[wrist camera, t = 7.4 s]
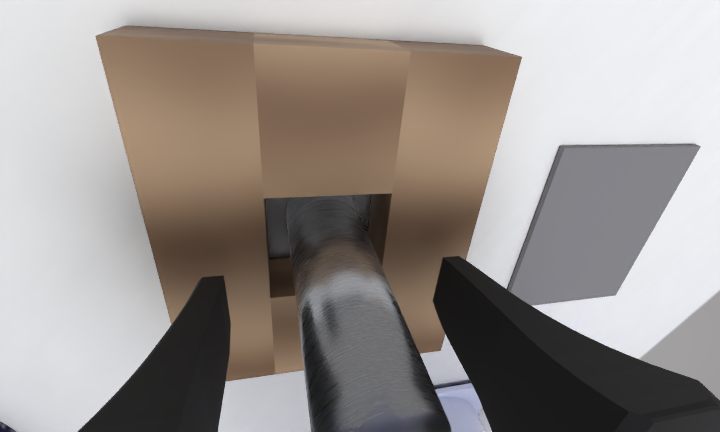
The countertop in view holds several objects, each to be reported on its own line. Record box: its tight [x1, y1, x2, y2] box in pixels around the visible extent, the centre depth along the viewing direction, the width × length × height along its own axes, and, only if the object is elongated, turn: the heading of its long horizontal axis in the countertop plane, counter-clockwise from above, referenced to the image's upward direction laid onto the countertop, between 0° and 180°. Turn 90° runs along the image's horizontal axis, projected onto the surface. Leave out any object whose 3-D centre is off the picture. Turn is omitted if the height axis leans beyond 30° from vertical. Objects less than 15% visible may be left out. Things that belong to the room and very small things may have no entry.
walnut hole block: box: [96, 26, 522, 381], centre depth 15 cm, size 14×12×2 cm
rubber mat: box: [507, 144, 701, 305], centre depth 21 cm, size 10×8×1 cm
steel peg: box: [286, 195, 451, 432], centre depth 12 cm, size 3×3×10 cm
